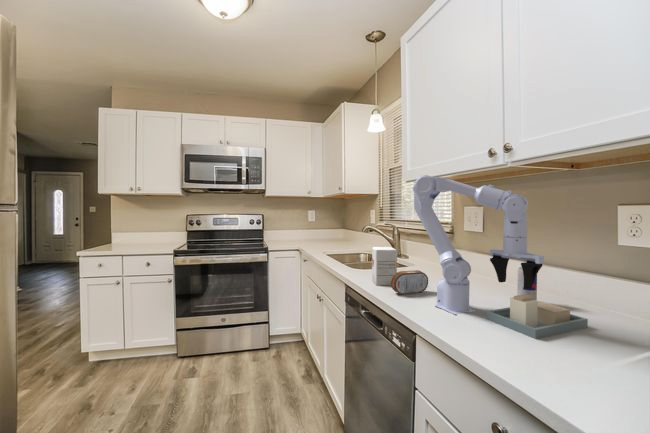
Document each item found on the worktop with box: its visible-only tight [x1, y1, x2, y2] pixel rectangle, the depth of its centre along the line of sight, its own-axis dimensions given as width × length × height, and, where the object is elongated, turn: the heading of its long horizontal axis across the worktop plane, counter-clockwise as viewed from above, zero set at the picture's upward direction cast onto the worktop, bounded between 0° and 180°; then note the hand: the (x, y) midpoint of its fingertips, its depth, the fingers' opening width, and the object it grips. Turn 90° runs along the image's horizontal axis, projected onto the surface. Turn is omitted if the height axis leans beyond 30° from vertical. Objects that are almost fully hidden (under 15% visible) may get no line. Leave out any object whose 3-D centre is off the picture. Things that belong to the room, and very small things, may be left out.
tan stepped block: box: [537, 300, 571, 325], centre depth 84 cm, size 8×6×4 cm
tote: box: [485, 306, 589, 340], centre depth 82 cm, size 14×20×3 cm
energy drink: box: [516, 266, 538, 301], centre depth 100 cm, size 5×5×12 cm
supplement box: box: [371, 246, 398, 286], centre depth 129 cm, size 9×9×15 cm
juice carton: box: [509, 295, 538, 328], centre depth 81 cm, size 4×4×8 cm
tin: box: [390, 269, 429, 295], centre depth 113 cm, size 15×3×8 cm, turn 108°
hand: (514, 285), depth 85 cm, fingers open, 7 cm apart
